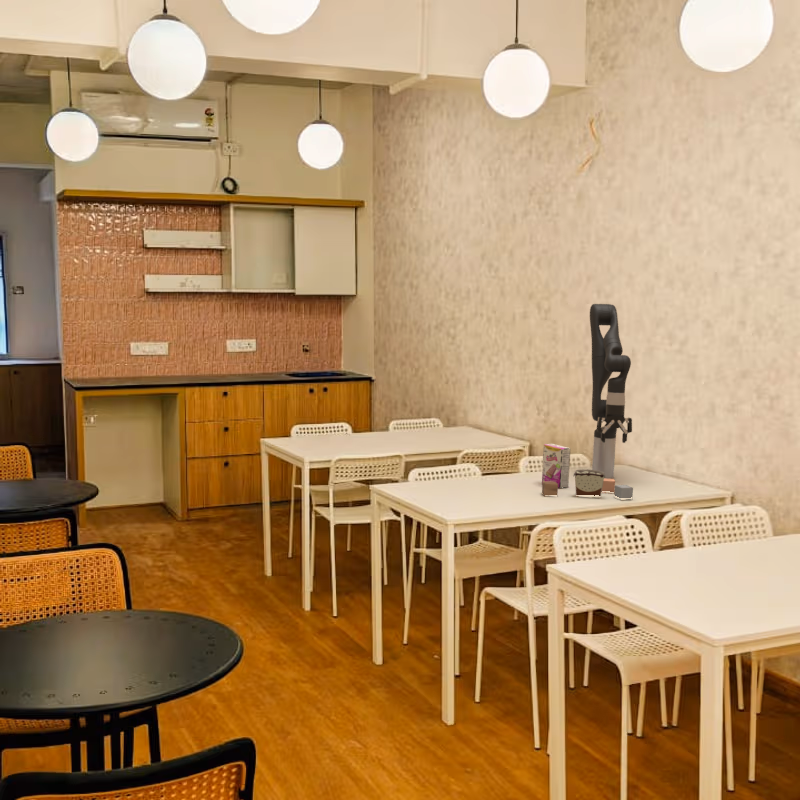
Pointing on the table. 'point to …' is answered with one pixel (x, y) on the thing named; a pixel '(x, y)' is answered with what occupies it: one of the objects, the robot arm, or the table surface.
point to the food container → (588, 482)
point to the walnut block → (549, 488)
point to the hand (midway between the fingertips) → (613, 442)
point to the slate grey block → (623, 491)
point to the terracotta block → (608, 485)
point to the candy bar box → (556, 464)
